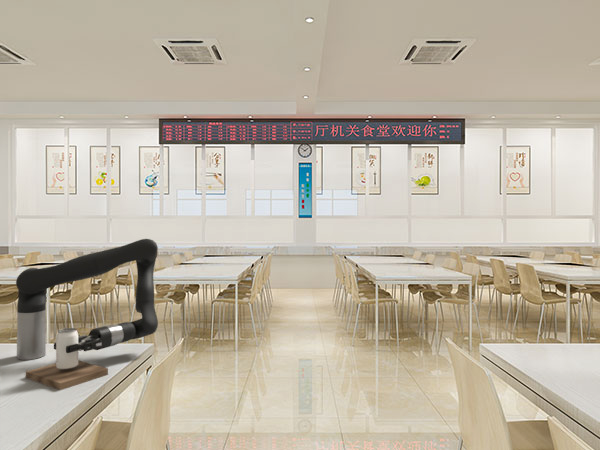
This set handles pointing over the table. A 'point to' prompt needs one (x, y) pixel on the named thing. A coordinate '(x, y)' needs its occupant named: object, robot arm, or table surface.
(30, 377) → the serving board
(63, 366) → the can
